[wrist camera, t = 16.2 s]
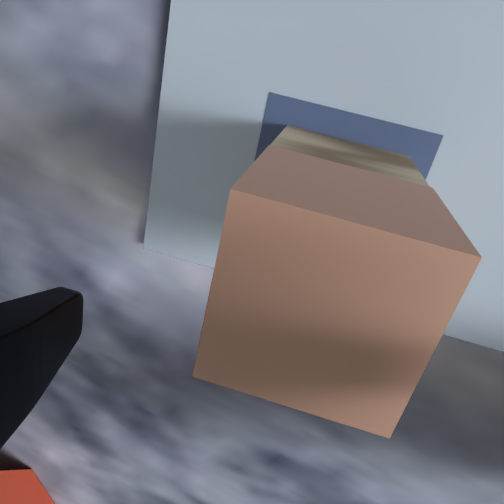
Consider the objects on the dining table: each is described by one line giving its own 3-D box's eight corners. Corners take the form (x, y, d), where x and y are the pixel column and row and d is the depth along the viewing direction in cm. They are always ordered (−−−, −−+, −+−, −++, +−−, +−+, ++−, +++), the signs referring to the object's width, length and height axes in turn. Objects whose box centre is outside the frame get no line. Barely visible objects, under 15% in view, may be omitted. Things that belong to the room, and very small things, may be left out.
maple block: (408, 155, 17) (431, 189, 13) (367, 264, 19) (375, 325, 15) (287, 125, 18) (268, 146, 13) (260, 234, 20) (236, 285, 15)
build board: (505, 346, 20) (510, 354, 20) (148, 243, 22) (142, 248, 21) (990, -469, 10) (1030, -501, 9) (241, -556, 11) (236, -590, 11)
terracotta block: (375, 324, 15) (389, 438, 10) (237, 283, 15) (192, 376, 11) (433, 187, 13) (482, 257, 8) (269, 144, 13) (230, 188, 9)
